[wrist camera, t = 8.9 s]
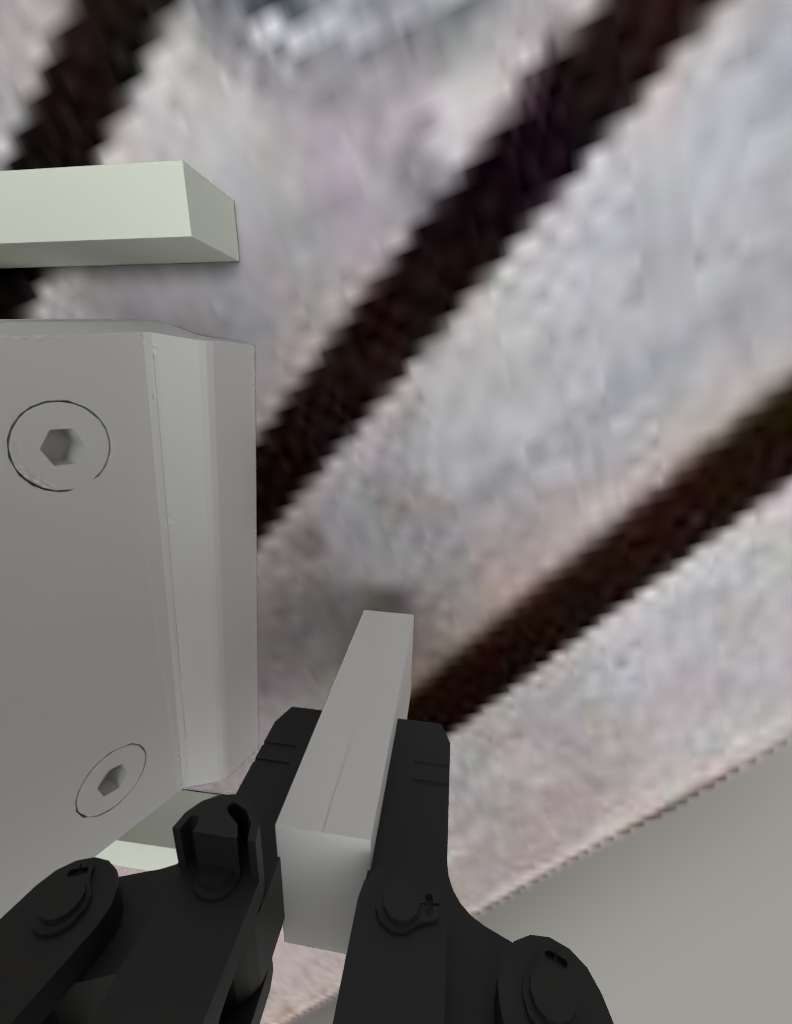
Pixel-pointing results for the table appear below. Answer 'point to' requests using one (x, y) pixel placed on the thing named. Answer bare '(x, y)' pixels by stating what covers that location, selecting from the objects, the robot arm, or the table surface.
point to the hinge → (120, 580)
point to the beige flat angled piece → (119, 241)
